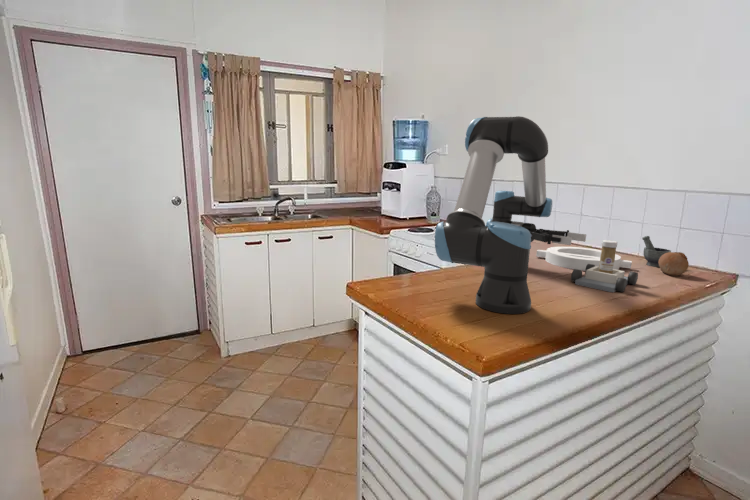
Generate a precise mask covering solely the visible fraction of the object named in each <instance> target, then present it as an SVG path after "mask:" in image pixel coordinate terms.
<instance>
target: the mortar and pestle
mask: <svg viewBox="0 0 750 500" xmlns="http://www.w3.org/2000/svg"><path fill="white" fill-rule="evenodd" d="M641 239H642V240H643V243H644V244H645V247H644V248H643V256H644V259H645V260H646V265H647V266H648V267H653V268H660V267H659V263H658V262H659V259H660V257H661V256H662V255H663V254H665V253H668V252H672V250H671V249H667V248H661V247H655V245H653V243H652V240H651V237H650V235H646V236H643V237H642V238H641ZM646 265H645V266H646Z"/></svg>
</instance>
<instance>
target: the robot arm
mask: <svg viewBox="0 0 750 500" xmlns="http://www.w3.org/2000/svg"><path fill="white" fill-rule="evenodd" d="M464 146H465V151H466V152H467V154H468V156H469V161H468V163H467V167H466V170H465V174H464V177H463V181H462V184H461V187H460V191H459V194H458V197H457V200H456V204H455V207H454V211H452V212H450V213H448V215H447V216H446V220H445V221H441V222H438V223H437V224H436V227H435V231H434V249H435V250H434V251H435V253H436V256H437V258H438V259H439V260H440V261H442V262H448V263H450V264H460V265H465V266H467V265H468V266H469V265H470V266H474V267H475V266H476V267H481V268H482V267H483V268H484V271H483V272H484V274H483V278H482V281H481V283H480V286H479V287H478V290H477V292H476V295H475V305H477V306H478V307H479V308H481V309H483V310H487V311H489V312H493V313H500V314H506V315H507V314H509V315H515V314H516V315H519V314H525V313H528V312H530V311H531V308H532V300H531V294H530V291H529V286H528V285H529V284H528V272H529V263H530V255H531V253H530V252H531V249H532V245H531V243H532V242H534V241H539V242H542V243H545V244H546V243H547V245H551V244H553V243H554V244H559V245H566V246H571V245H572V241H577V242H582V243H583V242H585V243H586V239H587V234H585V233H579V232H578V233H577V232H571V231H570V230H569V229H568V230H551V229H545V228H544V229H543V228H537V226H536V224H534V223H529V222H524V221H515V220H514V221H513V220H512V217H513V215H514V216H525V217H535V218H548V217H550V216H551V215H552V207H553V199H552V198H550V197H549V198H548V197H547V188H546V186H547V185H546V181H547V180H546V179H547V178H546V157H547V156H548V155H549V142H548V139H547V136H546V134H545V132H544V131H543V129H542V128H541V127H540V126H539V125H538V124H537V123H536V122H534V120H532V119H529V118H527V117H524V116H483V117H477V118H474V119H472V120H471V121H470V122H469V124H468V126H467V129H466V132H465V137H464ZM505 154H506V155H507V154H509V155H510V154H512V155H513V154H515V155H516V154H517V157H518V158H519V160H520V161H521V168H522V169H521V170H522V179H523V190H524V196H519V195H515V192H514V191H513V190H496V191H495V193H494V201H493V213H492V218H489V219H488V220H487V221H486V223H485V221H484V220H483V215H484V212H485V208H486V203H487V200H488V197H489V193H490V189H491V186H492V182H493V178H494V175H495V170H496V167H497V164H498V163H500V162H501V161H502V160H503V158H504V156H505Z"/></svg>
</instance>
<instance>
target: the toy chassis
mask: <svg viewBox="0 0 750 500" xmlns="http://www.w3.org/2000/svg"><path fill="white" fill-rule="evenodd" d="M584 274H585V275H584V276H583V271H582V270H577V269H572V273H571V276H570V277H571V278H570V279H571V282H575V283H574V284H575V285H576V286H581V287H587V288H591V289H595V290H599V291H600V290H601V291H605V292H609V293H615V292H620V293H624V292H625V291H626V288H627V285H628V284H629V285H633V286H636V285H637V282H638V279H639V273H638V272H636V271H629V273H628V275H627V276H625V270H620V269H618V270H615V269H613V272H612V274H609V273H604V272H599V266H595V265H593V264H587V266H586V269H585V271H584Z"/></svg>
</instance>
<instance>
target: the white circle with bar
mask: <svg viewBox="0 0 750 500" xmlns="http://www.w3.org/2000/svg"><path fill="white" fill-rule="evenodd" d="M601 251H602V249H595V248H590V247H581V246H551V247H548V248H546V250H545V249H537V250H536V252H535V253H536V254H535V257H539V258H544V259H545V262H547V263H549V264H550V265H554V266H556V267H560V268H563V269H564V268H565V269H570V270H574V269H577V270H581V271H582V272H583V271H584V272H585V269H586V266H587V264H593V265H595V266H599V263H600V256H601ZM632 263H633V261H632V260H627V259H626V260H625V259H622V256H621V255H619V254H617V253H615V260H614V267H613V269H615V270H620V268H624V269H625V268H626V269H632Z"/></svg>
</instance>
